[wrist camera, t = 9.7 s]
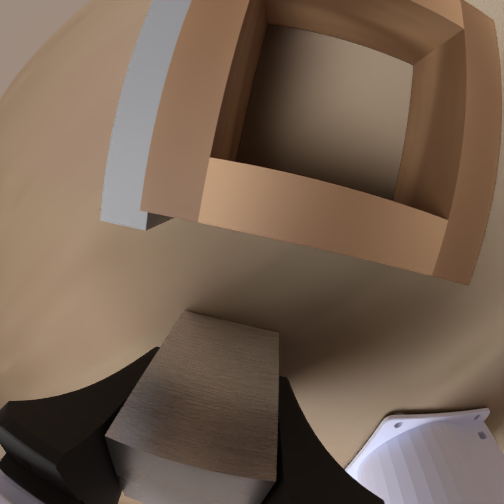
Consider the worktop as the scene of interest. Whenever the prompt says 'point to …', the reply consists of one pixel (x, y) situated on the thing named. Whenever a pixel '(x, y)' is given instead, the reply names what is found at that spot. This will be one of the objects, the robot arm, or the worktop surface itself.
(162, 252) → the worktop surface
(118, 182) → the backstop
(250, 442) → the grey rectangular block
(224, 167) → the square wooden frame
